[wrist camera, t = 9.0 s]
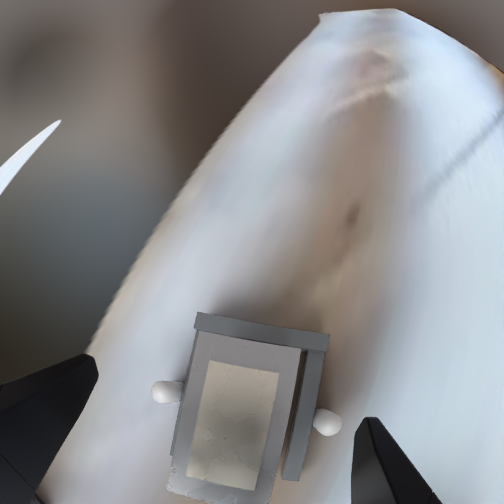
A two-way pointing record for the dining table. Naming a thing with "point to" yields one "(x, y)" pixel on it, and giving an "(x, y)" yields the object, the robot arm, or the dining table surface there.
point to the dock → (308, 390)
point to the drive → (233, 420)
